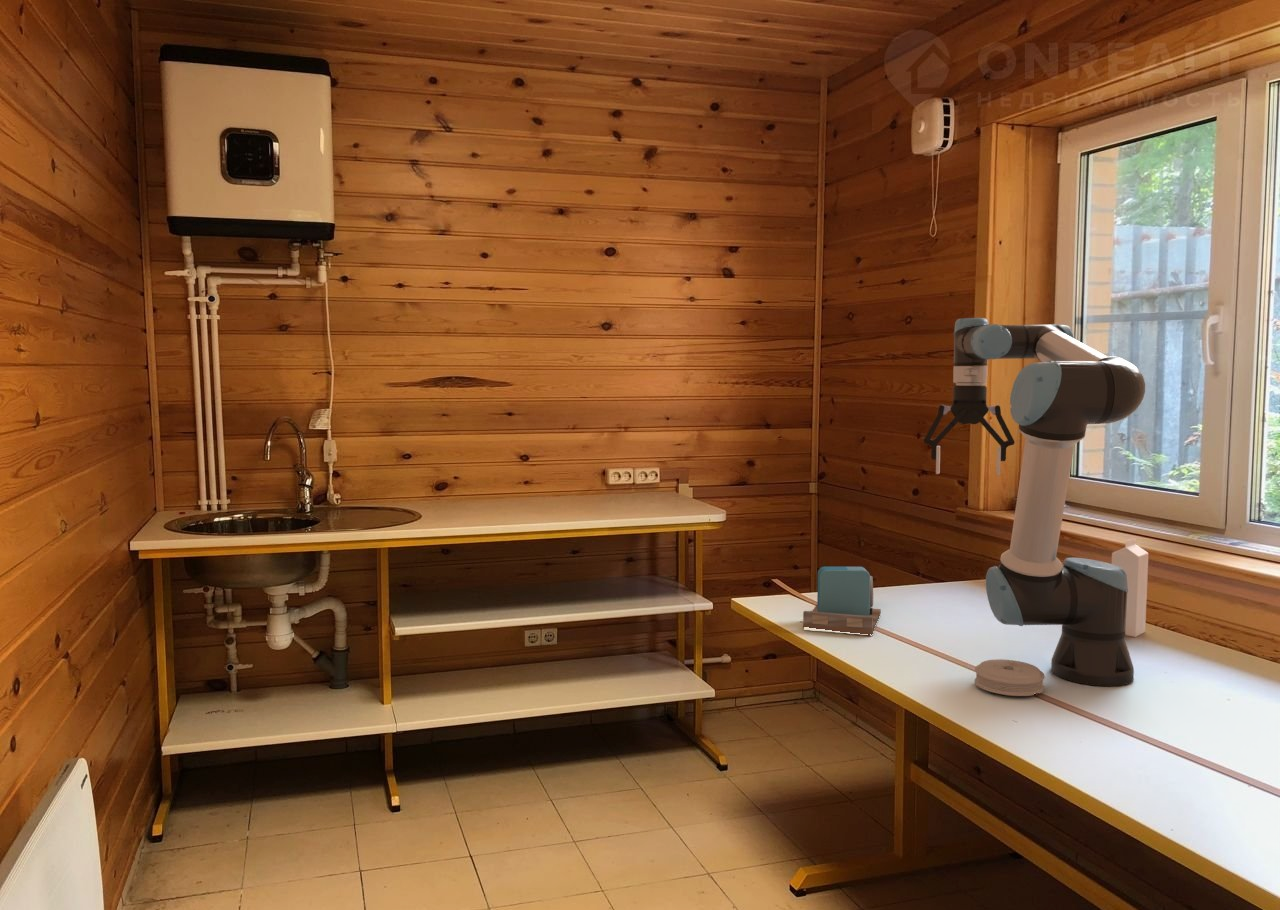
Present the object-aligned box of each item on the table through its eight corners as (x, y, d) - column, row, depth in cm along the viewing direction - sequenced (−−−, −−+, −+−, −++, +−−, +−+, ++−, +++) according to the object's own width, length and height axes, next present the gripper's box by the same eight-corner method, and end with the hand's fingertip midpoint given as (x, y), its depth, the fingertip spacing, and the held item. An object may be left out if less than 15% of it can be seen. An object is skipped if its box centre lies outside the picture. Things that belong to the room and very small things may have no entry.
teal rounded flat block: (866, 614, 237) (866, 566, 235) (869, 619, 232) (870, 570, 231) (817, 614, 237) (817, 566, 236) (819, 618, 233) (820, 570, 232)
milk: (1145, 632, 225) (1150, 539, 222) (1135, 637, 221) (1140, 542, 218) (1118, 627, 229) (1122, 535, 227) (1107, 632, 225) (1112, 539, 223)
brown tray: (871, 636, 223) (872, 617, 222) (802, 630, 228) (803, 612, 227) (880, 615, 242) (880, 597, 241) (816, 610, 247) (817, 592, 247)
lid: (960, 683, 191) (961, 659, 190) (1011, 675, 195) (1012, 651, 195) (1005, 704, 179) (1006, 678, 178) (1058, 695, 183) (1059, 670, 183)
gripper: (913, 384, 226) (912, 474, 228) (1027, 384, 218) (1025, 477, 220) (915, 384, 233) (914, 470, 235) (1026, 384, 225) (1023, 474, 227)
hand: (967, 474), depth 228 cm, fingers open, 13 cm apart
